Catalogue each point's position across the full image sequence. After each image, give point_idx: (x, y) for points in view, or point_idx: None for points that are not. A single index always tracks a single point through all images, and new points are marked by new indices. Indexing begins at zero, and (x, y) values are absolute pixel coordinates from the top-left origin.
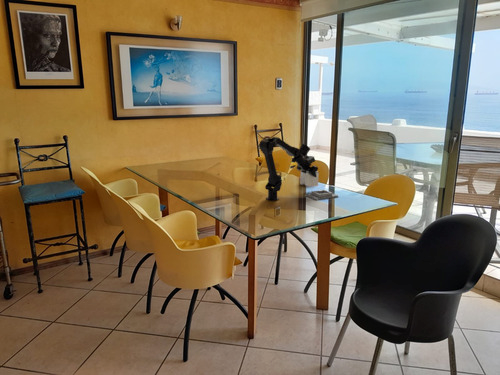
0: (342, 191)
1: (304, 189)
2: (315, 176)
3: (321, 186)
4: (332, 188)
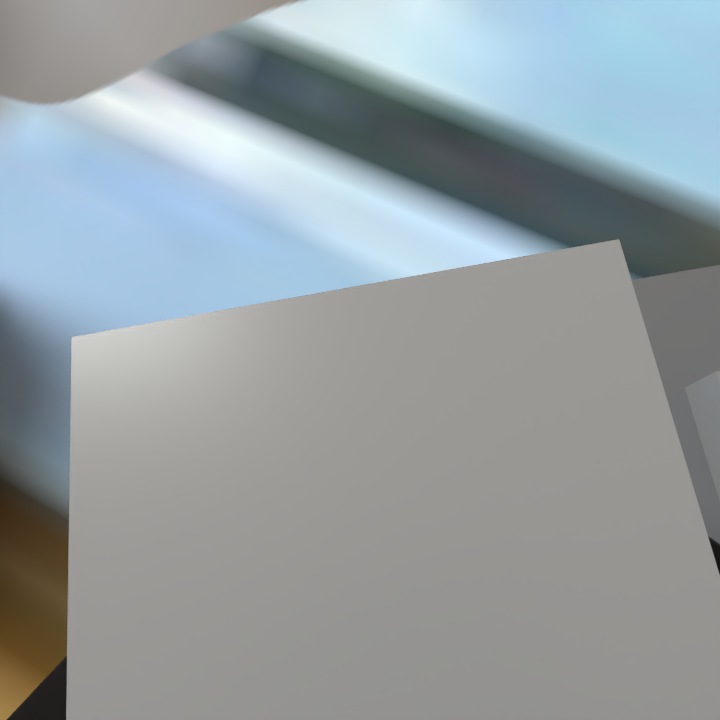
0: (554, 16)
1: None
2: None
3: (133, 199)
4: (321, 86)
